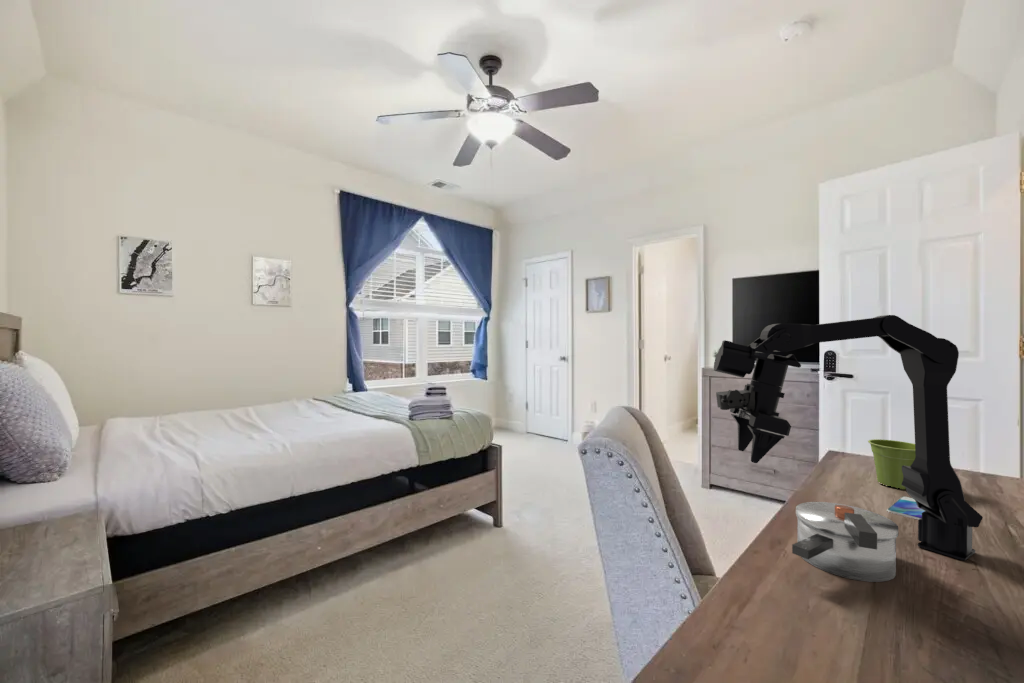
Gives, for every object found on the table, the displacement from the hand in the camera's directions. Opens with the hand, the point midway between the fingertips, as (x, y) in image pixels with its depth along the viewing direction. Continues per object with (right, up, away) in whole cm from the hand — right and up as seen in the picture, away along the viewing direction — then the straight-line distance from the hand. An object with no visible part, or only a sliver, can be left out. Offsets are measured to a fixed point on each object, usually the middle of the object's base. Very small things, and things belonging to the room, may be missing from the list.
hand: (747, 456), depth 92 cm
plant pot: (+55, -15, +28) cm, 64 cm away
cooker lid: (+9, -8, -15) cm, 20 cm away
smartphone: (+45, -16, +11) cm, 49 cm away
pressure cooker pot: (+8, -15, -14) cm, 22 cm away
